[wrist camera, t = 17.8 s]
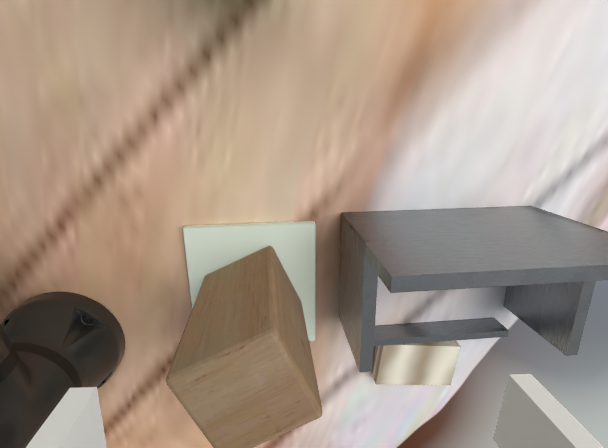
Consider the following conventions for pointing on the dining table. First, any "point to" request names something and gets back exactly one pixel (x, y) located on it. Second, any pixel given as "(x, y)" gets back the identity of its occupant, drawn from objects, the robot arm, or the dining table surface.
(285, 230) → the sage mat
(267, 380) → the wooden block
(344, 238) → the rack
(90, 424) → the robot arm
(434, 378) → the cream offcut
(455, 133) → the dining table surface
